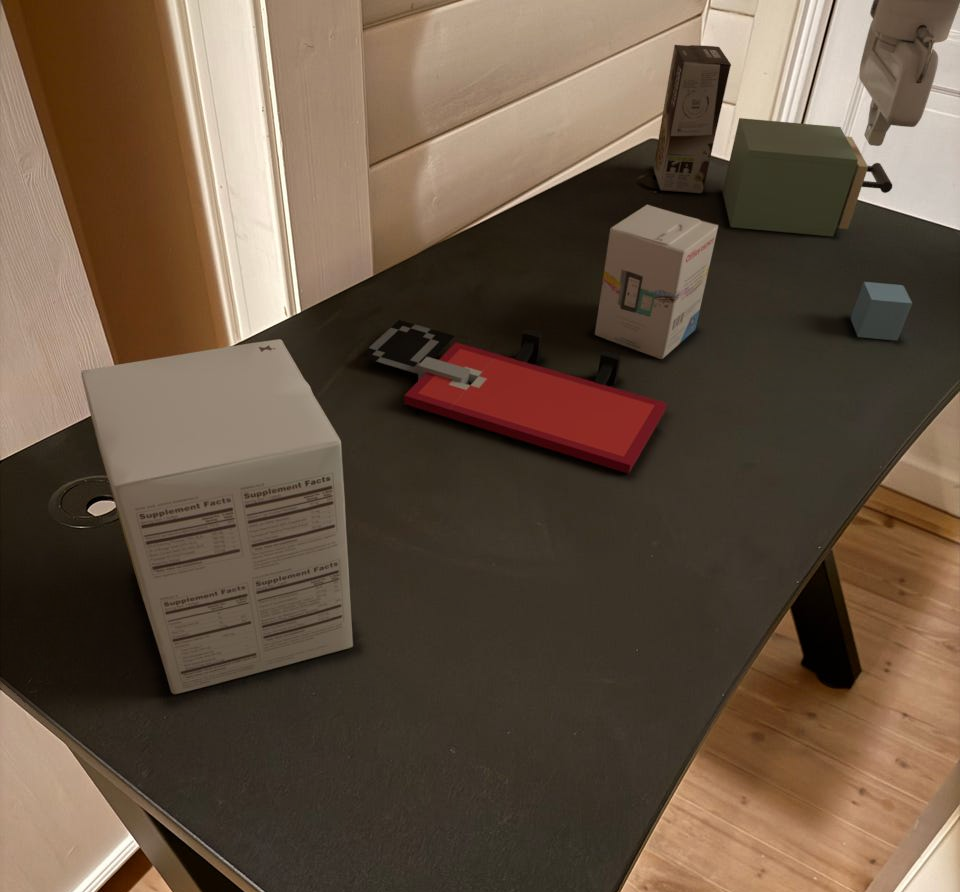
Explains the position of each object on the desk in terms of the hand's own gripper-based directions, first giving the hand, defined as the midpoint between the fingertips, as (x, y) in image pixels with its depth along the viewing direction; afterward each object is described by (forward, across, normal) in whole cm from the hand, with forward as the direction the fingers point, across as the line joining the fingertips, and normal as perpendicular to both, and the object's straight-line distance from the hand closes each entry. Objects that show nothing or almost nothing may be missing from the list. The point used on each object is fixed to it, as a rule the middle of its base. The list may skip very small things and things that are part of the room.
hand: (872, 141), depth 121 cm
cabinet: (+10, 0, +10) cm, 14 cm away
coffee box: (+10, +9, +23) cm, 26 cm away
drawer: (+9, 0, +5) cm, 10 cm away
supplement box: (+10, -87, +60) cm, 106 cm away
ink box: (+10, -38, +29) cm, 49 cm away
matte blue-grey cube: (+10, -32, +3) cm, 34 cm away
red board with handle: (+10, -53, +43) cm, 69 cm away
